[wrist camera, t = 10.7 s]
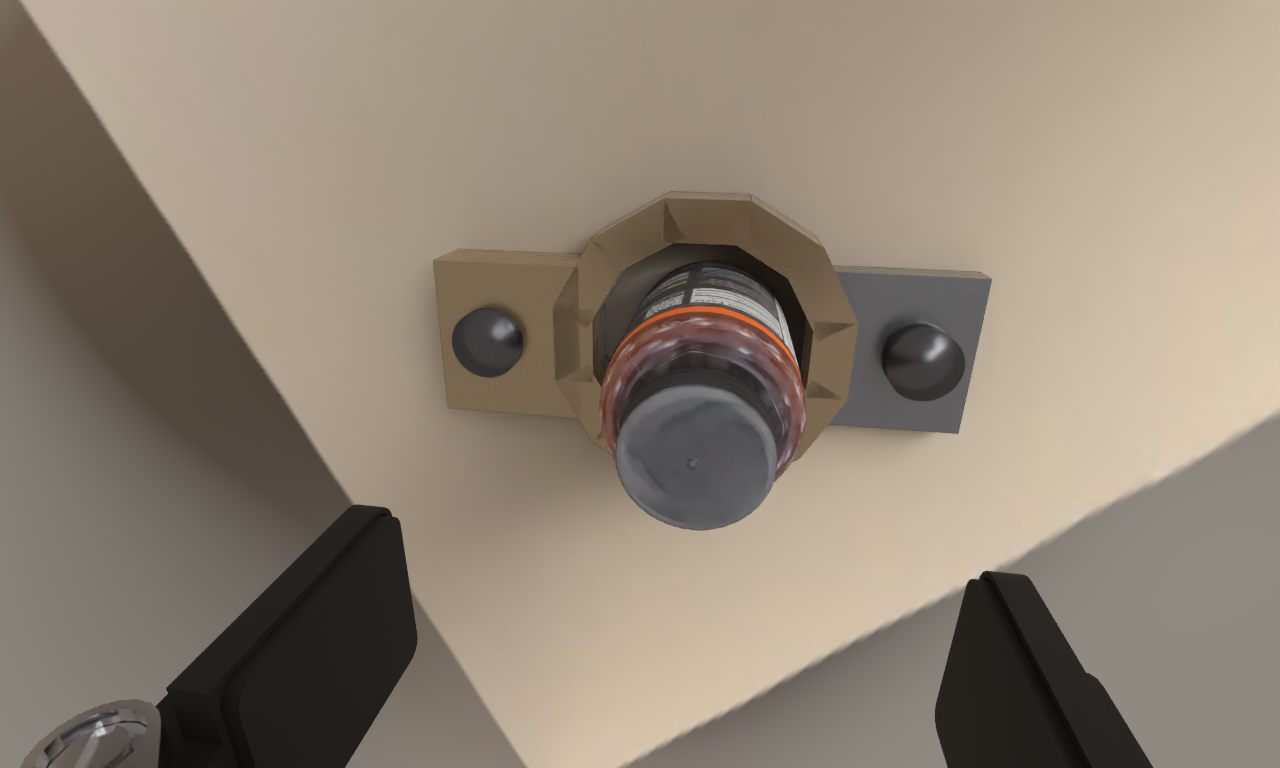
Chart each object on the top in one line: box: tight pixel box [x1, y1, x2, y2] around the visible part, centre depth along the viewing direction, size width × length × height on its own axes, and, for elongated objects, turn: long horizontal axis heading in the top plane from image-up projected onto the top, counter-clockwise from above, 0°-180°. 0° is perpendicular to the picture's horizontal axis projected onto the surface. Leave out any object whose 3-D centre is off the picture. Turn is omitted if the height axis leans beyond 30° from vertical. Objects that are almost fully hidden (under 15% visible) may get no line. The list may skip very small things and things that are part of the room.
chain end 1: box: [433, 194, 859, 462], centre depth 25 cm, size 16×11×3 cm
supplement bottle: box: [599, 261, 806, 530], centre depth 21 cm, size 6×6×11 cm
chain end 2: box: [599, 191, 992, 434], centre depth 25 cm, size 16×11×2 cm
